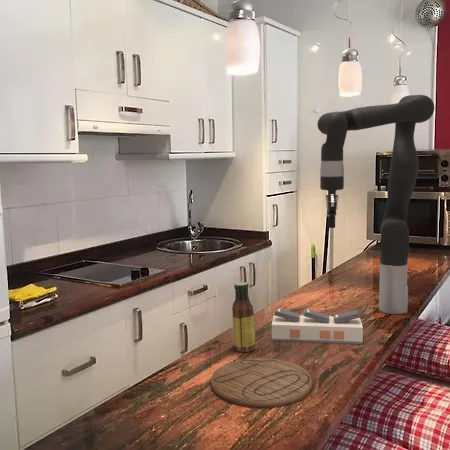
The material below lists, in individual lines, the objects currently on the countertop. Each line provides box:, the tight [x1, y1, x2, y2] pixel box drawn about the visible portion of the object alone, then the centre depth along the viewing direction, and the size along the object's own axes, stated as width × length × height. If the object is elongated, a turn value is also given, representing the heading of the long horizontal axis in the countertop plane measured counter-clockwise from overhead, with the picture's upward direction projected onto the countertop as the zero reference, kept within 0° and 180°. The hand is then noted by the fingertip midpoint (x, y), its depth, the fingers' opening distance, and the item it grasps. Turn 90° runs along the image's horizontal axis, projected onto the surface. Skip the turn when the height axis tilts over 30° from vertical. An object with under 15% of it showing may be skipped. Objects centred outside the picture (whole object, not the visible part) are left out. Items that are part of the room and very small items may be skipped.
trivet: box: [210, 357, 313, 409], centre depth 130 cm, size 25×25×2 cm
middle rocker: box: [303, 308, 330, 323], centre depth 161 cm, size 8×4×2 cm, turn 81°
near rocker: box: [333, 309, 361, 323], centre depth 159 cm, size 8×4×2 cm, turn 80°
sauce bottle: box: [231, 281, 256, 353], centre depth 151 cm, size 7×6×20 cm
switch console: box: [271, 314, 364, 345], centre depth 161 cm, size 27×10×5 cm, turn 81°
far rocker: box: [273, 307, 301, 322], centre depth 162 cm, size 8×4×2 cm, turn 81°
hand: (331, 227), depth 171 cm, fingers closed
